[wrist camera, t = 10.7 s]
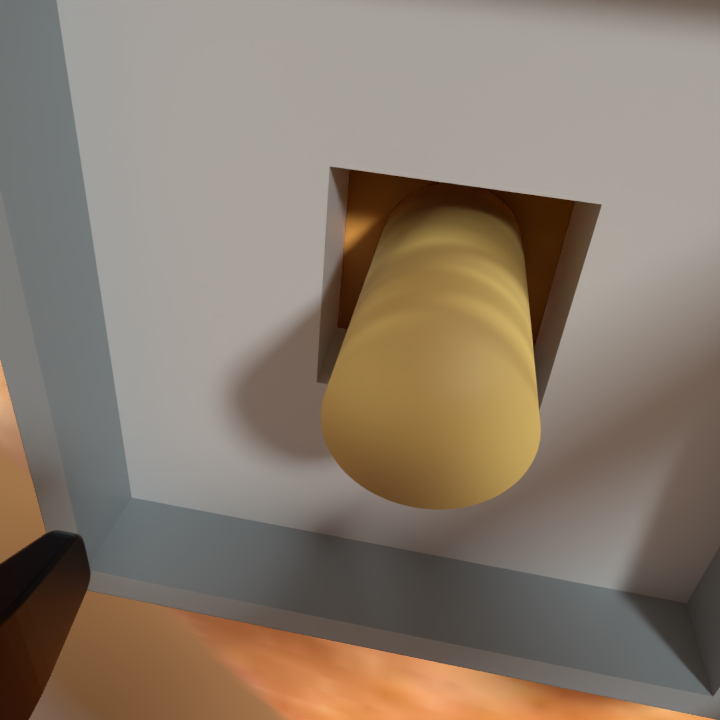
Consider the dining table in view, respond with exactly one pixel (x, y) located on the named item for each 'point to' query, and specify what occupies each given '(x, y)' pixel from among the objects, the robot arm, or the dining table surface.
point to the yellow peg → (438, 357)
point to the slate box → (324, 339)
